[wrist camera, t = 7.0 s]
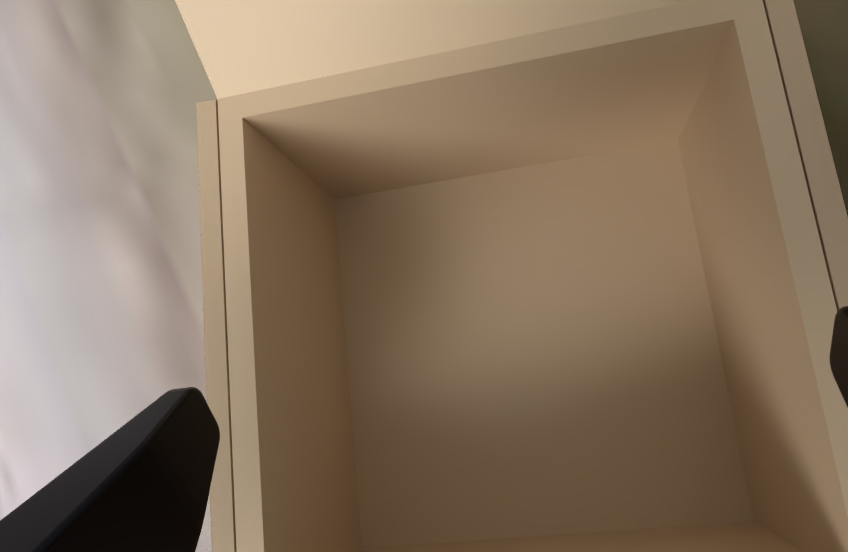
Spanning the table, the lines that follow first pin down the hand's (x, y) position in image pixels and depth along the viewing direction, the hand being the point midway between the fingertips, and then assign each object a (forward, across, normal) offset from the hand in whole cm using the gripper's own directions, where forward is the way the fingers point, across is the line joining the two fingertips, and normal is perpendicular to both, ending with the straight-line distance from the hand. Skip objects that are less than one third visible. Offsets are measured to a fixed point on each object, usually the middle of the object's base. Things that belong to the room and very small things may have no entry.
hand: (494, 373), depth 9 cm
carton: (+9, 0, +6) cm, 11 cm away
